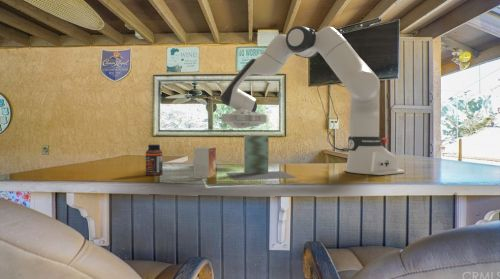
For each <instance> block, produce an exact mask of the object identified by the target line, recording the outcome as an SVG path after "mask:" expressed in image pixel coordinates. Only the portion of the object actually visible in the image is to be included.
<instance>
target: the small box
mask: <svg viewBox="0 0 500 279" xmlns="http://www.w3.org/2000/svg"><path fill="white" fill-rule="evenodd" d="M216 174H217V147H213V146H212V147H211V146H210V147H209V146H208V147H207V146H205V147H204V146H203V147H197V148H193V178H194V179H197V180H199V179H201V180H204V179H205V178H208V179H209V178H212V177H213V176H215V175H216Z"/></svg>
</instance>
